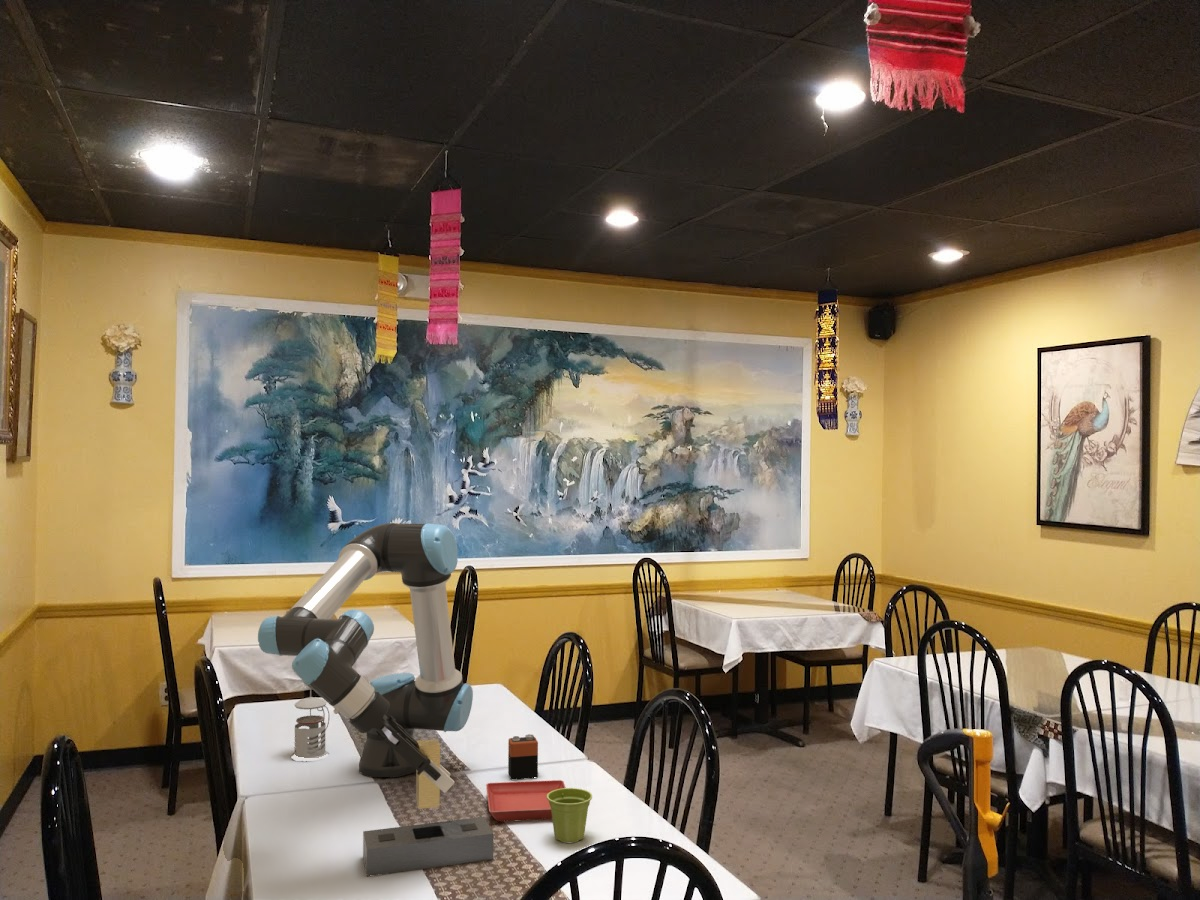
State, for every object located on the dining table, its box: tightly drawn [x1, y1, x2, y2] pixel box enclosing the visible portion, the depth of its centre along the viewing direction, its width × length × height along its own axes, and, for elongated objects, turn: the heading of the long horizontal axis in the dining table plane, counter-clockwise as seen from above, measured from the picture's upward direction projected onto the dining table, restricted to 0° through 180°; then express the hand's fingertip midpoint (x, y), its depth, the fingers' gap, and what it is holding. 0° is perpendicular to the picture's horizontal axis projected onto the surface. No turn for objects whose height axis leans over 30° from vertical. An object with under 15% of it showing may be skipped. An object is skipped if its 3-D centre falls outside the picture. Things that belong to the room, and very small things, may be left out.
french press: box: [293, 687, 330, 758], centre depth 243 cm, size 10×12×25 cm
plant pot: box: [547, 787, 593, 844], centre depth 190 cm, size 9×9×9 cm
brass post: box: [415, 738, 441, 810], centre depth 180 cm, size 4×4×12 cm
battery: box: [507, 733, 539, 780], centre depth 227 cm, size 4×7×10 cm, turn 104°
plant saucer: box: [485, 779, 567, 822], centre depth 207 cm, size 18×18×3 cm
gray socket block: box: [362, 816, 494, 877], centre depth 180 cm, size 24×9×5 cm, turn 109°
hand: (447, 783), depth 181 cm, fingers closed on brass post, 4 cm apart
